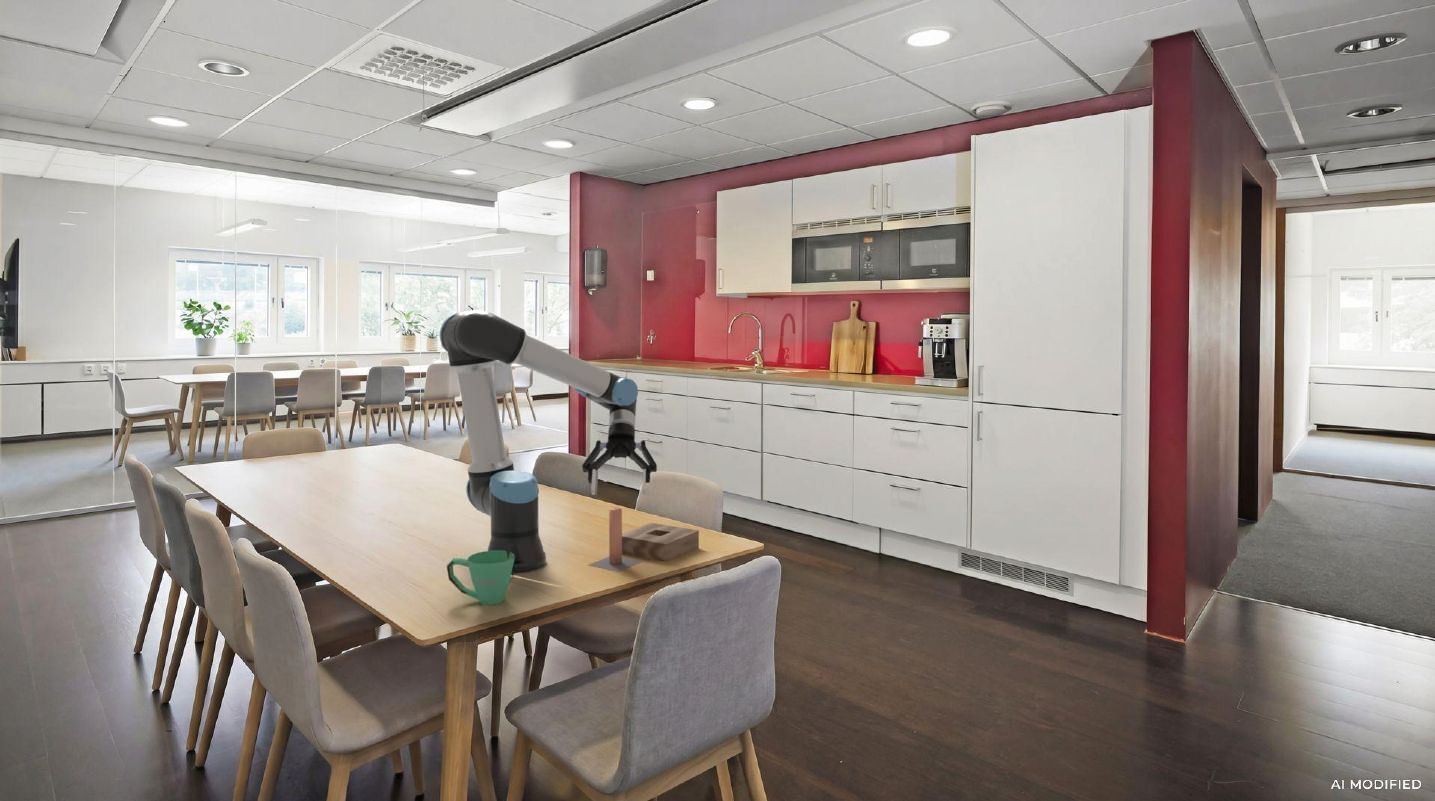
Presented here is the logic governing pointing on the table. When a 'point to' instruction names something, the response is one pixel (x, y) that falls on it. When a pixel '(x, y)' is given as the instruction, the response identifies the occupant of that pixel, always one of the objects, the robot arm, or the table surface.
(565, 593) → the table surface
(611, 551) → the peg
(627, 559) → the mat
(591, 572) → the table surface
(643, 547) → the hole block
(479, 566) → the mug
